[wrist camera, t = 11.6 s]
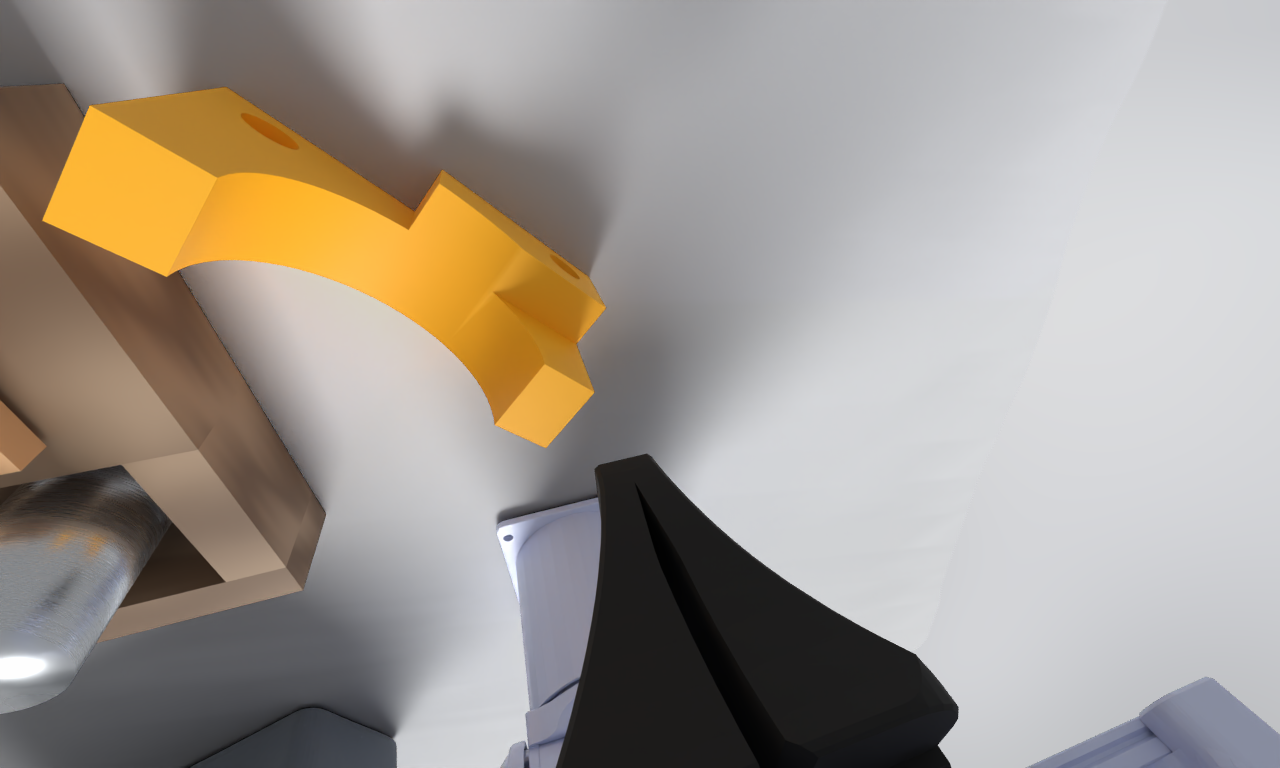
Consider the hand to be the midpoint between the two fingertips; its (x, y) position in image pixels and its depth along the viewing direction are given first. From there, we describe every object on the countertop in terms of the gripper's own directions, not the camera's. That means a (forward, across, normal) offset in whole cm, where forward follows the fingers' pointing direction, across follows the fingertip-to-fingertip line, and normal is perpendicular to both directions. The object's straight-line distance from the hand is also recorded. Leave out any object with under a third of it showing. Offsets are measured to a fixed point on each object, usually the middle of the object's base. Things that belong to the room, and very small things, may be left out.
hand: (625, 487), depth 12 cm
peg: (+10, +17, +4) cm, 20 cm away
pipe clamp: (+11, +4, -4) cm, 12 cm away
